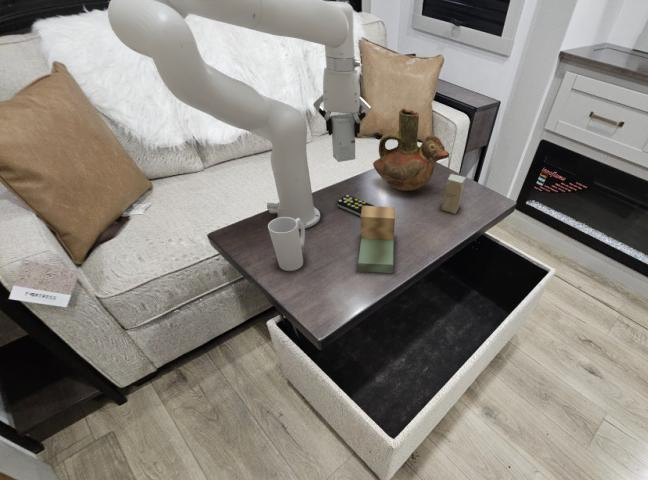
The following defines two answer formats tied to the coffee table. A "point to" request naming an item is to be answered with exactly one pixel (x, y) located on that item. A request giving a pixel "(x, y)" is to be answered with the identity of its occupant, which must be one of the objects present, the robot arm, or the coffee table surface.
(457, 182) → the box
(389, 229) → the wood and green block
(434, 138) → the ceramic vessel
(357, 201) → the remote control
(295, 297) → the coffee table surface
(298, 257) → the mug
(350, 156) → the white medicine box
